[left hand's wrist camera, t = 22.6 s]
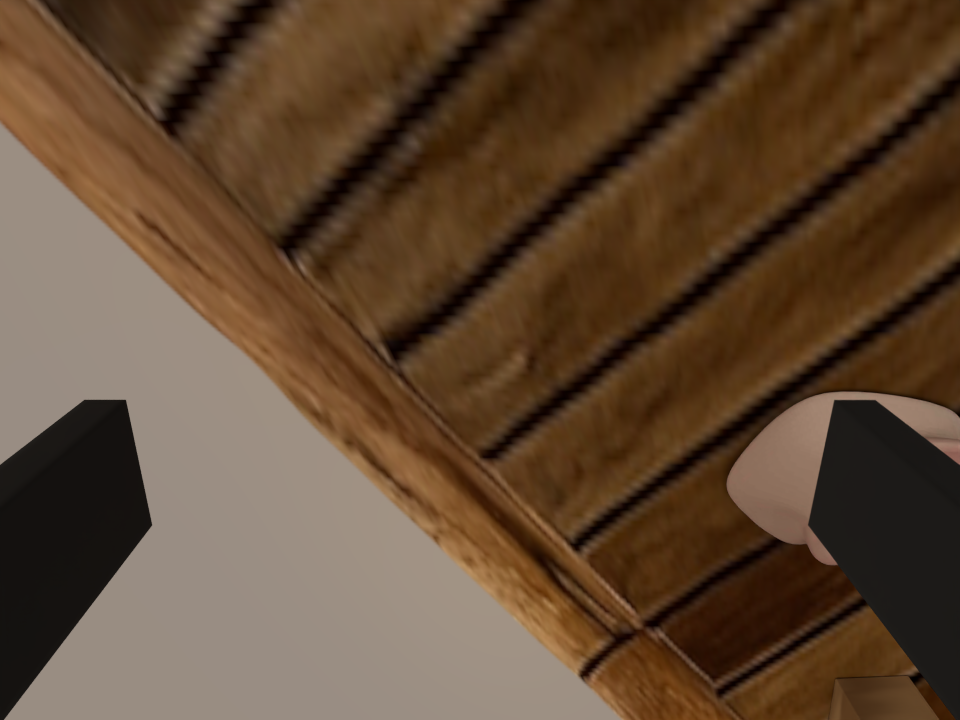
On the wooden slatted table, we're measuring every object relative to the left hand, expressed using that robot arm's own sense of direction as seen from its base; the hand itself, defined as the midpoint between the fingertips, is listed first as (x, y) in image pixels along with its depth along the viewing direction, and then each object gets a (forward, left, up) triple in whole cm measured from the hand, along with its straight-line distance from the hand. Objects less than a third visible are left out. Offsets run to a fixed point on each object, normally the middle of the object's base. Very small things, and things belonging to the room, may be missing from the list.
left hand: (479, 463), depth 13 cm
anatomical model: (-5, +26, -26) cm, 37 cm away
